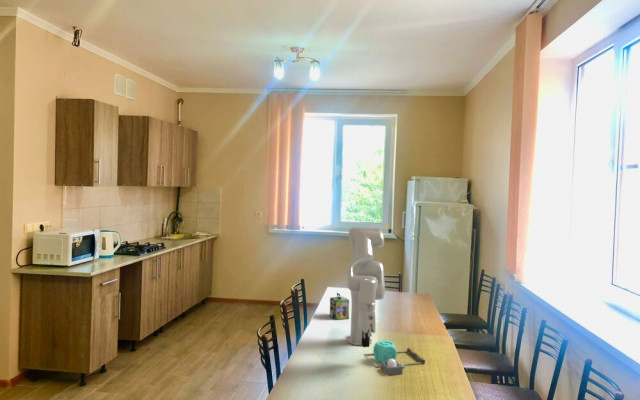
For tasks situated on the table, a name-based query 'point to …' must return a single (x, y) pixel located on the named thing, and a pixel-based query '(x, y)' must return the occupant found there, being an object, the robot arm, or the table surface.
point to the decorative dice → (384, 351)
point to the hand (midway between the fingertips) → (365, 346)
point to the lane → (415, 355)
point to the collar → (391, 368)
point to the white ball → (391, 363)
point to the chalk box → (339, 307)
